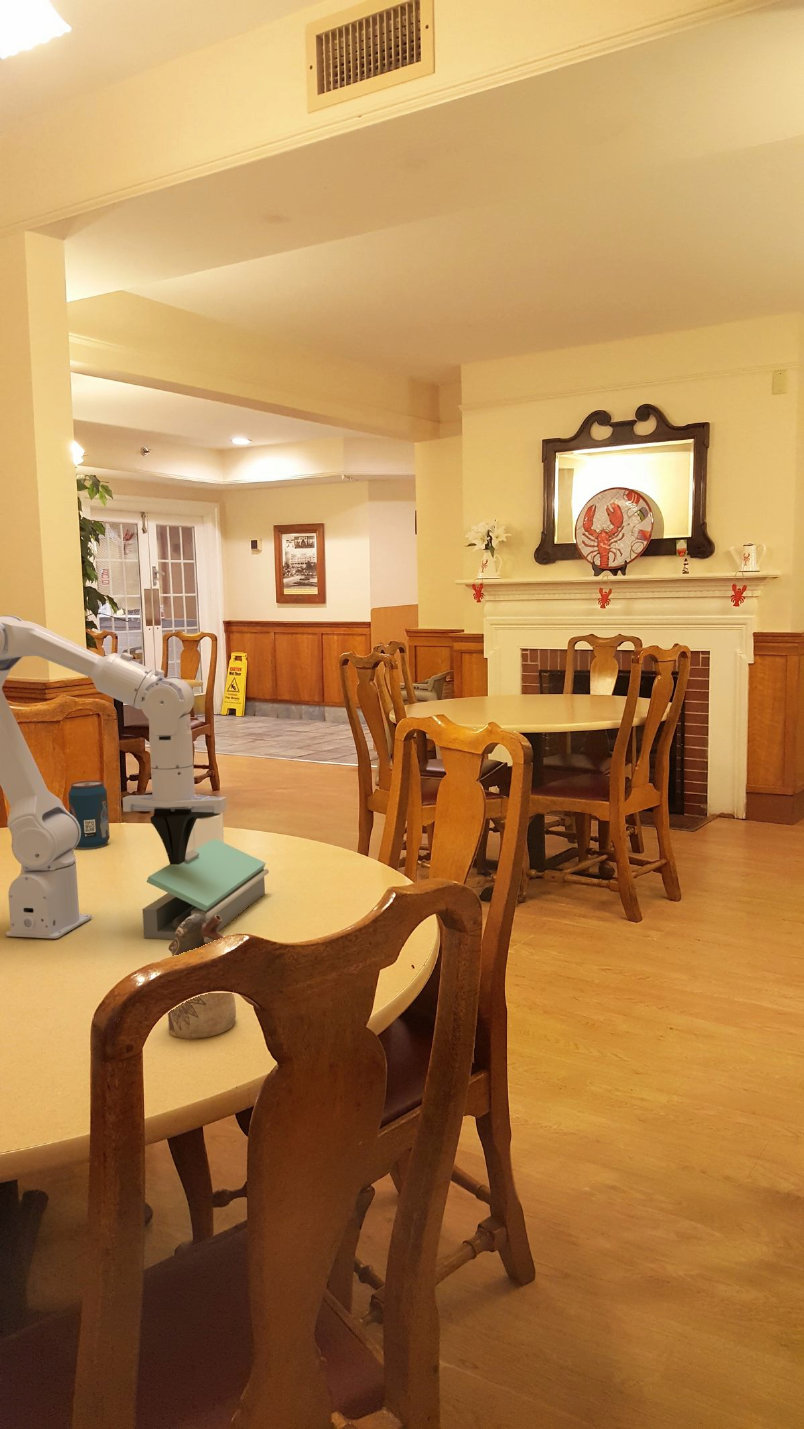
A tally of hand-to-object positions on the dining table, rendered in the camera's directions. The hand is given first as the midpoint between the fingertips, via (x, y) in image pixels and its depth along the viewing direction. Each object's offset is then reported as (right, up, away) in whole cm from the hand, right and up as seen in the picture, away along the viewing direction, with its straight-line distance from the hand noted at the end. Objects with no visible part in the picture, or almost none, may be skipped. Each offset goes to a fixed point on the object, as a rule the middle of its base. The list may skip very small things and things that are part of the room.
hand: (177, 862), depth 138 cm
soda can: (-28, -4, +50) cm, 57 cm away
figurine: (+10, -13, -33) cm, 37 cm away
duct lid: (+4, -2, +5) cm, 6 cm away
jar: (-3, -6, +31) cm, 32 cm away
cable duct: (+3, -8, +5) cm, 10 cm away
